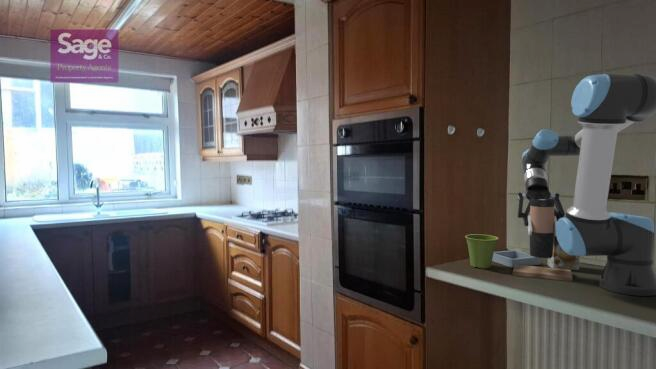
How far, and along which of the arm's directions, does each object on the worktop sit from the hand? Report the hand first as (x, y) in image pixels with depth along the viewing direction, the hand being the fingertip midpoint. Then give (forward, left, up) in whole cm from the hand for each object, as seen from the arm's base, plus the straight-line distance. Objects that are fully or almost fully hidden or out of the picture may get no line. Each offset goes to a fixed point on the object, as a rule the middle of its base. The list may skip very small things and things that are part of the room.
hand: (543, 233), depth 147 cm
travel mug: (+3, -2, -9) cm, 9 cm away
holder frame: (+20, -6, -15) cm, 26 cm away
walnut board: (+2, -2, -15) cm, 15 cm away
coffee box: (+7, -17, -15) cm, 24 cm away
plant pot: (+19, +10, -15) cm, 27 cm away
